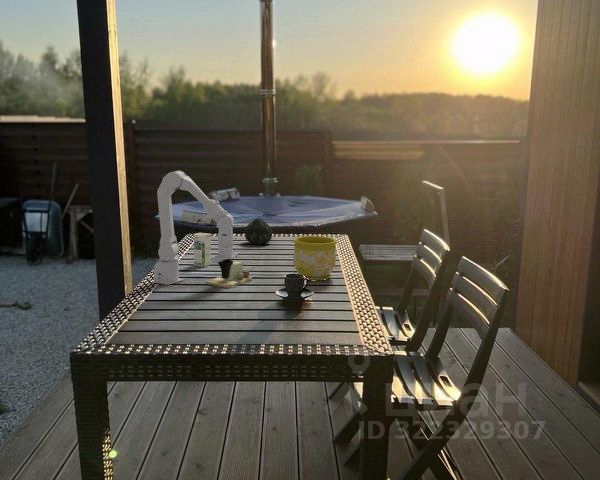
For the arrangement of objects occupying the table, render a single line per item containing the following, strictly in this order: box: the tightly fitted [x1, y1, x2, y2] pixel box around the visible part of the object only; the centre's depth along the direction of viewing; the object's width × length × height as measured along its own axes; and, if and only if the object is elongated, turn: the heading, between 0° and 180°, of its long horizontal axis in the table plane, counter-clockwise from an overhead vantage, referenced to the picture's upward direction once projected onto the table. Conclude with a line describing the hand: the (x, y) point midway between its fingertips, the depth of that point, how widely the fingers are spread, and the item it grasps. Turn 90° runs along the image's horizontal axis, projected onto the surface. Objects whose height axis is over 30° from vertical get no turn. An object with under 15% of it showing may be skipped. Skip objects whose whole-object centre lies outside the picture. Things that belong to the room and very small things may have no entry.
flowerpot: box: [293, 235, 338, 280], centre depth 246 cm, size 18×18×16 cm
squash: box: [244, 218, 273, 246], centre depth 319 cm, size 14×15×15 cm
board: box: [205, 270, 253, 289], centre depth 236 cm, size 16×11×4 cm
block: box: [224, 261, 244, 281], centre depth 238 cm, size 8×4×6 cm, turn 149°
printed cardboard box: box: [193, 232, 212, 268], centre depth 264 cm, size 6×6×14 cm
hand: (225, 278), depth 234 cm, fingers closed
